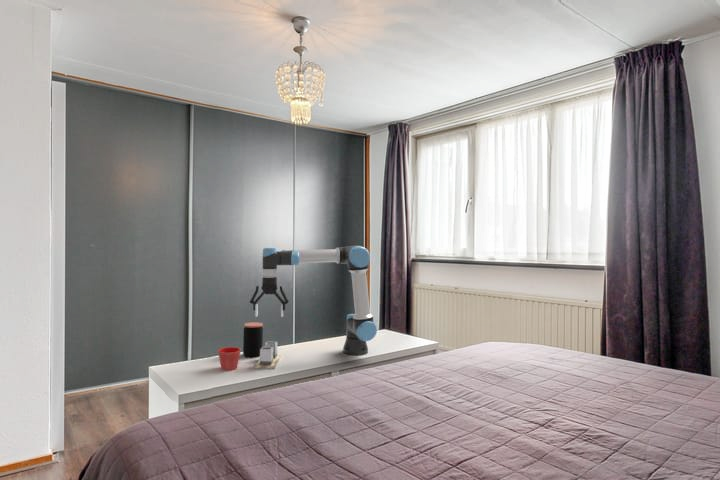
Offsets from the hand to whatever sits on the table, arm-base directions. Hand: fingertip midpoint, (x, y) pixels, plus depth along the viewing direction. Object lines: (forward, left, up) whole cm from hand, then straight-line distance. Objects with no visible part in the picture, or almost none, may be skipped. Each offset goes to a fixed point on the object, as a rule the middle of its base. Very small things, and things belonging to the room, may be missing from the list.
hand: (269, 316), depth 226 cm
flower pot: (+18, +8, -26) cm, 33 cm away
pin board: (0, -3, -26) cm, 26 cm away
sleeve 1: (0, -10, -24) cm, 26 cm away
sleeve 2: (0, +3, -24) cm, 24 cm away
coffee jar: (+12, -17, -26) cm, 34 cm away
